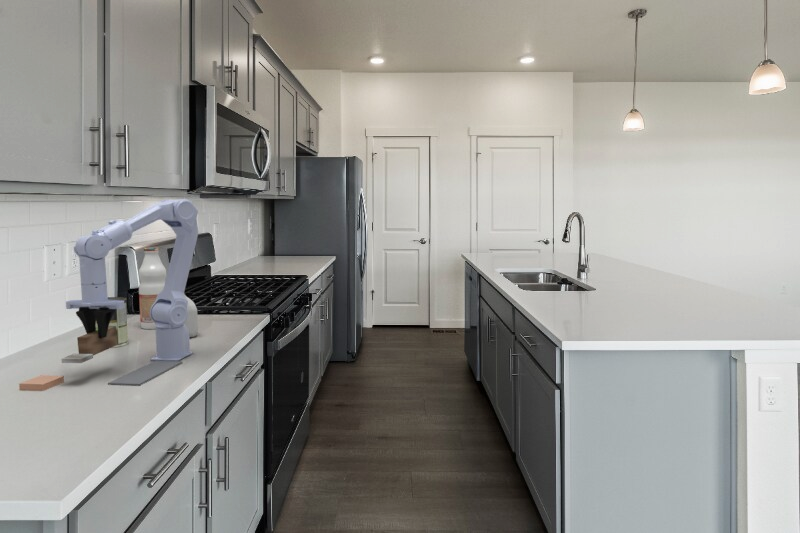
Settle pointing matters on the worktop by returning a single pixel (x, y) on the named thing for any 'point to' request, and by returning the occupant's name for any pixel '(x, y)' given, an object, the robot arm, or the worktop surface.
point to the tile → (41, 383)
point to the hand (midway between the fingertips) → (97, 337)
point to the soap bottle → (191, 318)
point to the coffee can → (119, 323)
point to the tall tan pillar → (92, 345)
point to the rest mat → (145, 373)
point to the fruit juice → (150, 284)
